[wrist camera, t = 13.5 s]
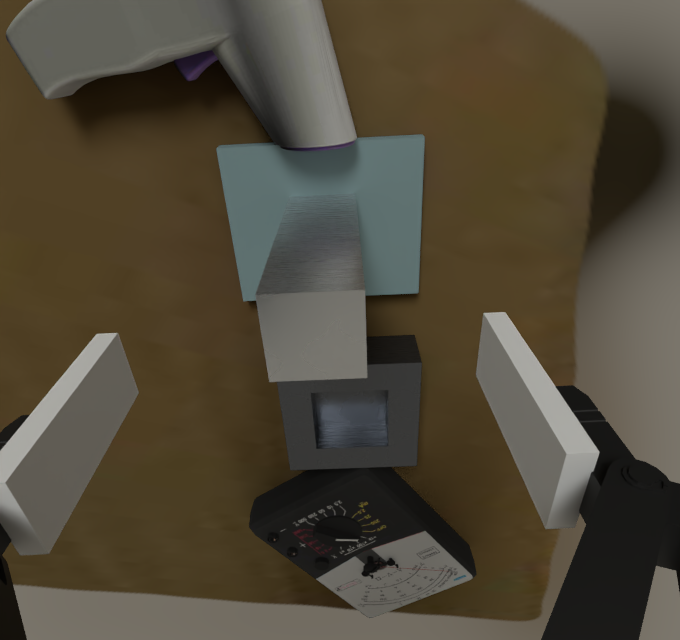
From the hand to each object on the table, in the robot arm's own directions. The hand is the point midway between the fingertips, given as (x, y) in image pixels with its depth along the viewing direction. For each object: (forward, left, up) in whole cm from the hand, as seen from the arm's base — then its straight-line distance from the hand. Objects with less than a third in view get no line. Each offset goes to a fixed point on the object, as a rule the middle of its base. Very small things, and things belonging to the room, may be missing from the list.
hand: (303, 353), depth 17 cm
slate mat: (0, 0, -15) cm, 15 cm away
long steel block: (0, 0, -14) cm, 14 cm away
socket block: (+1, -14, -15) cm, 21 cm away
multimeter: (+2, -31, -16) cm, 35 cm away
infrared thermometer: (-6, +9, -16) cm, 19 cm away
